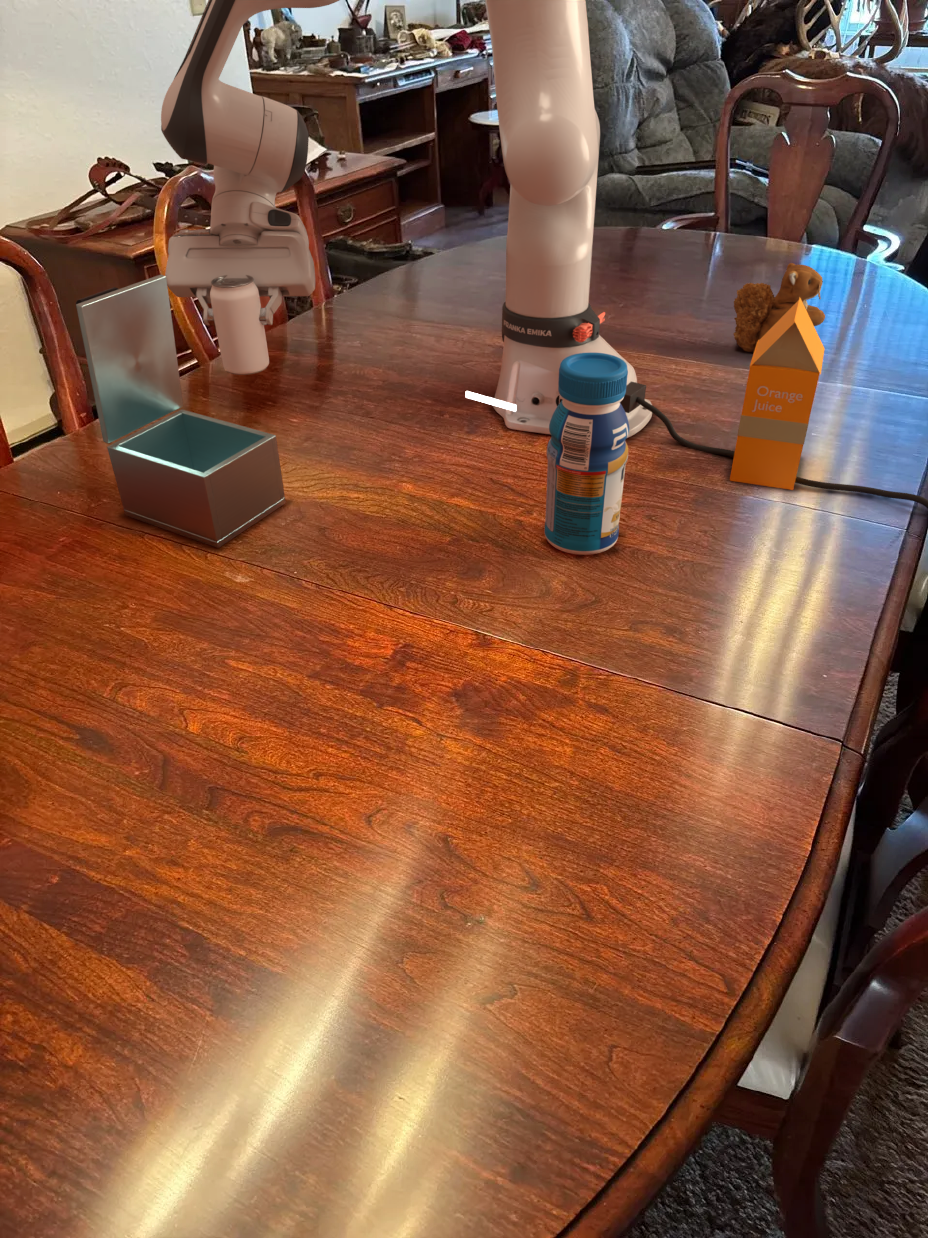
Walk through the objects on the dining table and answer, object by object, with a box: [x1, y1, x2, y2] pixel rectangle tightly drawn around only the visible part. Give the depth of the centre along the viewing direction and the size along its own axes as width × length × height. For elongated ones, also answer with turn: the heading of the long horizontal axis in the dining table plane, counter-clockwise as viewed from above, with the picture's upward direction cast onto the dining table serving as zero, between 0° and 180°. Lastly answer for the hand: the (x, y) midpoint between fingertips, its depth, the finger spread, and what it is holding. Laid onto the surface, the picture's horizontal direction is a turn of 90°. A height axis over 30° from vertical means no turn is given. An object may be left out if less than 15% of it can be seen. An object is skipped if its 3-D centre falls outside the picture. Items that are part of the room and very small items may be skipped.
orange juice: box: [729, 298, 826, 491], centre depth 109 cm, size 8×9×20 cm
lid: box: [75, 274, 184, 444], centre depth 102 cm, size 16×12×5 cm
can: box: [210, 275, 270, 376], centre depth 126 cm, size 6×6×12 cm
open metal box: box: [106, 409, 287, 549], centre depth 106 cm, size 15×12×9 cm
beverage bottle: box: [544, 353, 629, 556], centre depth 96 cm, size 8×8×20 cm
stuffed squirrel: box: [733, 262, 826, 353], centre depth 143 cm, size 10×14×13 cm
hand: (238, 323), depth 125 cm, fingers closed on can, 6 cm apart
